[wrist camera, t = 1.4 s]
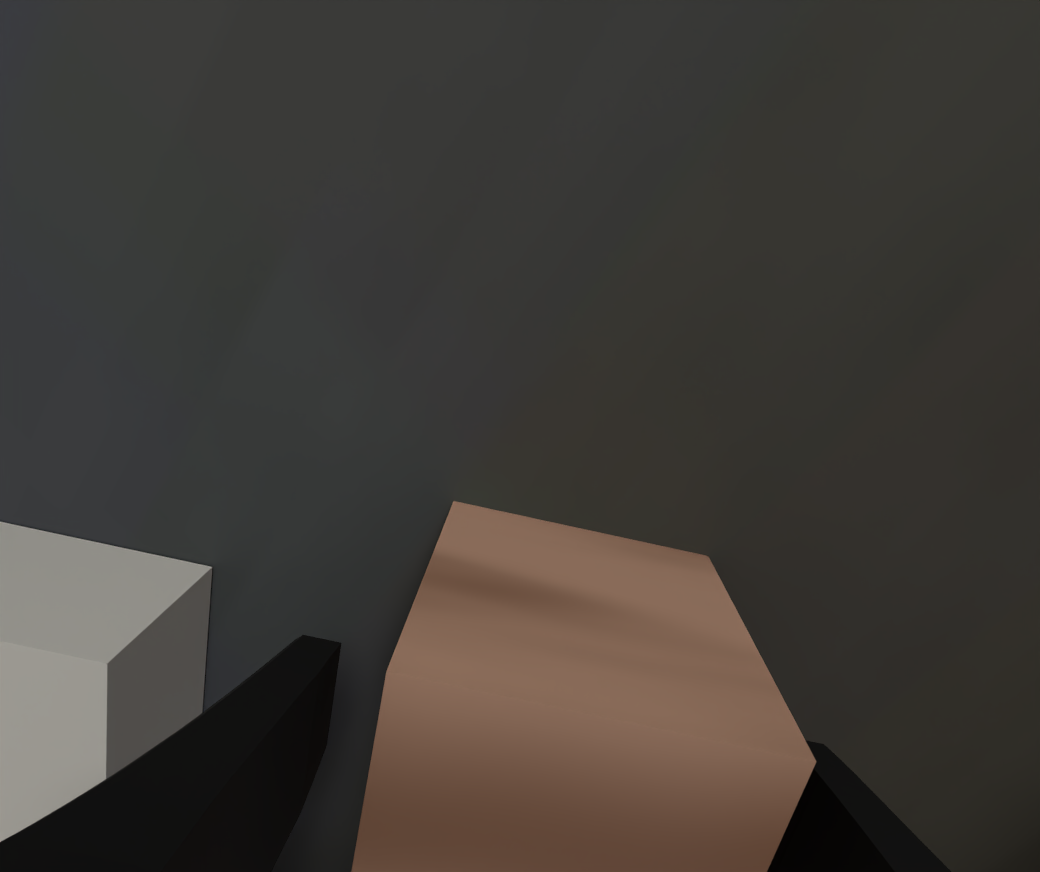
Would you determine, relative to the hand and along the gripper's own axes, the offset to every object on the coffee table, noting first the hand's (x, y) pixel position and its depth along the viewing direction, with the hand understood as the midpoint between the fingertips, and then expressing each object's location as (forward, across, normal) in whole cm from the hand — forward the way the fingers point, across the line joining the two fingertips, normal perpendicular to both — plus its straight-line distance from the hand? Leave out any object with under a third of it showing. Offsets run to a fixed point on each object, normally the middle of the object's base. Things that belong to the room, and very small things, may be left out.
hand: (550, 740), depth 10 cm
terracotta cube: (+3, 0, 0) cm, 3 cm away
